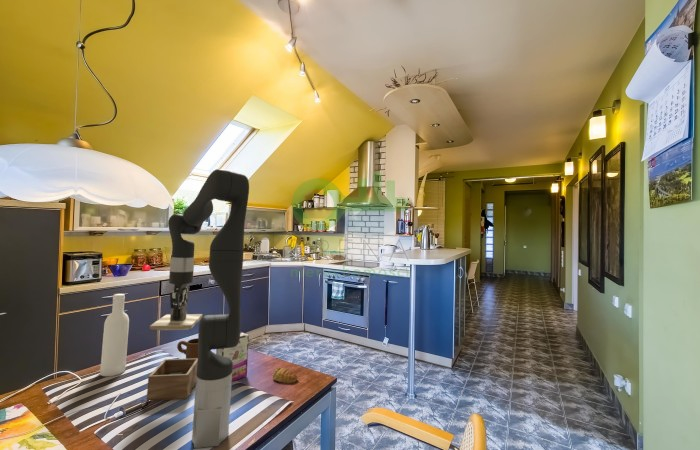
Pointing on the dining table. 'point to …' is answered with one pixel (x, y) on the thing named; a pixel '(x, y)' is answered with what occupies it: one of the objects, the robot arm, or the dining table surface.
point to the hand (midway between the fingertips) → (178, 317)
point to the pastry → (284, 375)
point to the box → (172, 379)
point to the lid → (182, 324)
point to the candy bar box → (237, 357)
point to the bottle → (115, 339)
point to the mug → (189, 348)
